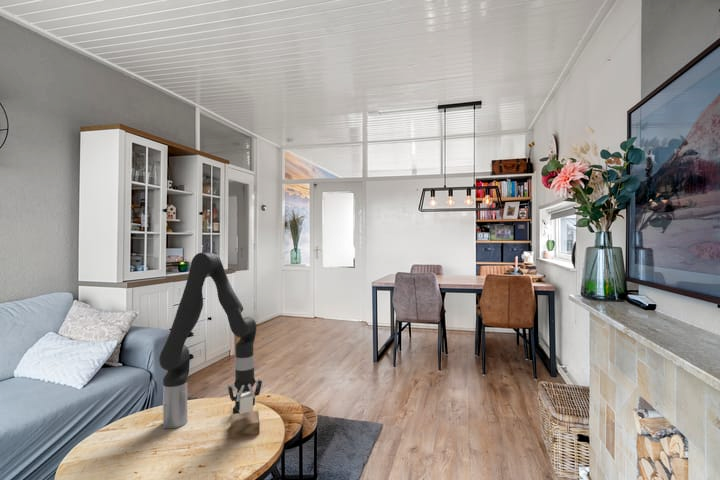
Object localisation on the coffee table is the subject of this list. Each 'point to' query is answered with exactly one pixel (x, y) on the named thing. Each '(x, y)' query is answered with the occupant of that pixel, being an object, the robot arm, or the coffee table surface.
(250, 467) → the coffee table surface
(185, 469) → the coffee table surface
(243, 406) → the cream block
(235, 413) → the watch
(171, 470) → the coffee table surface
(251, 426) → the walnut block
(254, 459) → the coffee table surface
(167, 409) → the robot arm
